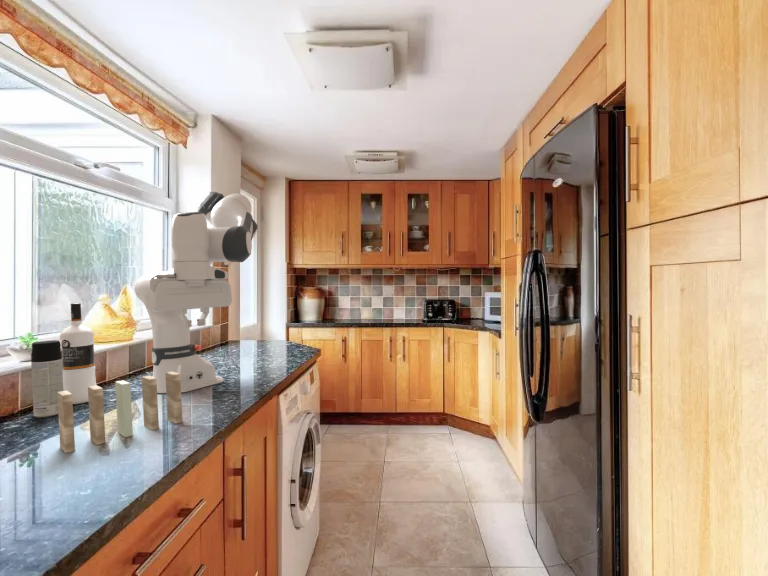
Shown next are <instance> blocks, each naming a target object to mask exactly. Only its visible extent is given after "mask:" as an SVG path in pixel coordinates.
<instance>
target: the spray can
mask: <svg viewBox="0 0 768 576" xmlns="http://www.w3.org/2000/svg"><path fill="white" fill-rule="evenodd" d="M30 358H31V359H30V361H31V382H32V383H31V386H32V404H33V405H32V406H33V410H32V411H33V416H34V418H41V417H42V418H48V417H53V416H57V415H58V397H57V392H61V391H64V390H63V368H62V351H61V341H60V340H56V339H55V340H53V339H52V340H41V341H36V342H35V341H34V342H32V343H31V354H30Z"/></svg>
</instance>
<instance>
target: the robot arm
mask: <svg viewBox="0 0 768 576" xmlns="http://www.w3.org/2000/svg"><path fill="white" fill-rule="evenodd" d="M207 221H208V223H210V224H208V223H207ZM171 224H172V225H171V247H172V250H173V258H172V268H171V269H170V270H167V271H166V270H165V271H153V272H150V273H147V274H145V275H142V276H140V277H139V278H138V279H137V280H136V282H135V285H134V292H135V295H136V297H137V298H138V300H140V301H141V302H142V303H143V305H144V307H145V309H146V312H147V313H148V316H149V319H150V323H151V332H152V343H153V344H152V346H153V347H152V348H151V362H152V365H153V367H152V368H153V370H152V377H154V378H156V379H157V394H166V375H165V373H166V372H175V373H179V374H180V381H181V393H187V392H191V391H194V390H198V389H201V388H205V387H210V386H213V385H217V384H221V383H223V382H224V378H223V377H222V376H219V375H217V373H216V369H215V366H214V364H213V363H211V362H210V361H208V360H207V359H205V358H204V357H202V356H200V355H199V354H197V351H198V352H200V351H202V348H203V347H202V345H200V344H192V343H191V333H190V331H191V330H190V328H191V327H192V326H193V324H192V323H193V322H192V320H191V319H188V317H187V316H186V315H187V314H188V310H194V309H195V310H197V309H200V310H199V311H200V313H201V315H200V317H199V318H197V319H196V322H197V323H196V326H197V327H198V326H199V327H203V326H206V325H207V324H206V319H207V317H208V316H209V314H210V309H211V308H221V307H222V308H223V307H229V306H230V305H232V302H233V296H232V294H233V293H232V287H231V284H230V281H228V280H227V279H229V273H228V271H226V270H223V269H220V268H218V267H214V266H212V263H223V262H225V263H227V262H231V263H244V262H245V261H246V260H247V259H248V258H249V257H251V255H252V249H253V238H255V236H256V234H257V231H258V228H259V227H258V223H257V222H256V221H255V220H254V218H253V216H252V203H251V201H250V199H249V198H248V197H247V196H245V195H243V194H241V193H231V194H229V195H227V196H225V195H224V194H223V193H219V192H217V191H210V192H209V193H206V194H205V195H203V196H202V197H201V198H200V200H199V201H198V205H197V211H189V212H188V211H187V212H186V211H185V212H184V211H183V212H177V213H175V214H174V215H173V217H172V222H171Z"/></svg>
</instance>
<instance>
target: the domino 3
mask: <svg viewBox="0 0 768 576" xmlns="http://www.w3.org/2000/svg"><path fill="white" fill-rule="evenodd" d="M131 392H132V391H131V383H130V382H128V381H126V380H123V379H122V380H116V381H115V398H116V399H115V400H116V402H115V403H116V416H117V417H116V420H117V424H116V425H117V433H118V434H119V435H121V436H122V437H124V438H127V437H131V436H133V435H134V431H133V429H134V428H133V413H132V411H133V410H132V393H131Z"/></svg>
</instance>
